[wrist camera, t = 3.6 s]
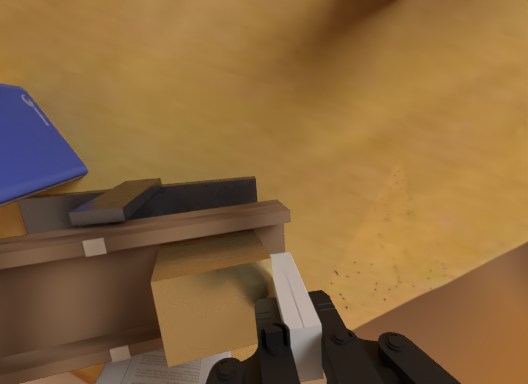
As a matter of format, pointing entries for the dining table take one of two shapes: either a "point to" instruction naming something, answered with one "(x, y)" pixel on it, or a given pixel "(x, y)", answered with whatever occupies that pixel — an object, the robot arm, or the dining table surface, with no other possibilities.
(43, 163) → the hard drive
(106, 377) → the photo printer
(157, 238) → the brown wooden trough
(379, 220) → the dining table surface
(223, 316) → the block
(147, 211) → the stand
